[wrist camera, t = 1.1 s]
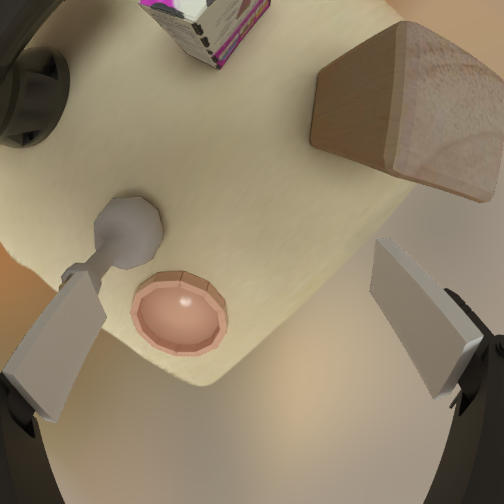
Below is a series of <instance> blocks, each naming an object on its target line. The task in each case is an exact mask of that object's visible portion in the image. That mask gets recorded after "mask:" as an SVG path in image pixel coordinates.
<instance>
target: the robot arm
mask: <svg viewBox="0 0 504 504" xmlns="http://www.w3.org/2000/svg"><path fill="white" fill-rule="evenodd" d="M63 1H65V0H0V145H4V146H8V147H12V148H24V147H28V146H32V145H35V144H37V143H39V142H40V141H42V140H43V139H44V138H46V137H47V136H48V135H49V133H50V132H51V131H52V130H53V128H54V127H55V125H56V124H57V122H58V120H59V119H60V116H61V114H62V112H63V110H64V107H65V104H66V100H67V96H68V91H69V70H68V66H67V63H66V60H65V59H64V57H63V56H62V55H61V54H60V53H59V52H58V51H56V50H53V49H50V48H46V47H34V48H30V49H26V50H23V49H24V48H25V46H26V45H27V44H28V42H29V41H30V39H31V38H32V37H33V36H34V34H35V33H36V32H37V30H38V29H39V28H40V27H41V25H42V24H43V23H44V22H45V21H46V19H47V18H48V17H49V16H50V15H51V14H52V13H53V11H54V10H55V9H56V8H57V7H58V6H59V5H60V4H61V3H62V2H63ZM22 50H23V51H22ZM370 293H371V295H372V296H373V298H374V299H375V301H376V302H377V304H378V305H379V307H380V309H381V310H382V312H383V313H384V315H385V316H386V318H387V320H388V321H389V323H390V324H391V326H392V328H393V329H394V331H395V332H396V334H397V336H398V338H399V339H400V341H401V342H402V344H403V346H404V348H405V349H406V351H407V353H408V354H409V356H410V358H411V360H412V361H413V363H414V365H415V367H416V369H417V370H418V372H419V374H420V376H421V378H422V379H423V381H424V383H425V385H426V387H427V389H428V391H429V393H430V394H431V396H432V398H433V400H434V401H435V400H437V399H439V398H442V397H444V396H446V395H448V394H450V393H451V392H452V390H453V389H454V388H455V386H456V384H457V383H458V384H459V386H460V387H461V390H460V392H459V393H458V395H457V396H456V397H455V399H454V400H453V402H452V403H451V405H450V408H451V409H452V407H453V406H454V405H455V404H456V408H455V412H454V416H453V421H452V425H451V428H450V432H449V436H448V439H447V442H446V446H445V449H444V452H443V455H442V458H441V461H440V464H439V467H438V469H437V472H436V475H435V477H434V480H433V482H432V485H431V487H430V490H429V492H428V494H427V497H426V499H425V501H424V503H423V504H504V335H496V336H494V335H493V334H492V333H491V331H490V330H489V329H488V328H487V327H486V325H485V324H484V323H483V322H482V321H481V320H480V318H479V317H478V316H477V315H476V314H475V313H474V312H473V311H471V308H470V307H469V306H468V305H466V304H465V302H464V301H463V300H462V299H461V298H460V296H459V295H458V294H456V293H454V292H453V291H451V290H449V289H447V288H445V289H443V288H442V287H441V286H440V285H439V284H438V283H437V282H436V281H435V280H434V279H433V278H432V277H431V276H430V275H429V274H428V273H427V272H426V271H425V270H424V269H423V268H422V267H421V266H420V265H419V264H418V263H417V262H416V261H415V260H414V259H413V258H412V257H411V256H410V255H409V254H408V253H407V252H406V251H405V250H403V249H402V248H401V247H400V246H399V245H398V244H397V243H396V242H395V241H394V240H393V239H392V238H381V239H376V241H375V252H374V261H373V269H372V277H371V284H370ZM106 318H107V316H106V314H105V312H104V310H103V307H102V305H101V303H100V300H99V298H98V296H97V293H96V291H95V289H94V286H93V284H92V281H91V279H90V276H89V274H88V271H80V272H75V273H74V274H73V276H72V277H71V278H70V279H69V280H68V281H67V283H66V284H65V285H64V286H63V287H62V289H61V290H60V291H59V292H58V293H57V295H56V296H55V297H54V298H53V300H52V301H51V302H50V303H49V305H48V306H47V307H46V309H45V310H44V311H43V312H42V314H41V315H40V317H39V318H38V319H37V321H36V322H35V323H34V325H33V326H32V327H31V329H30V330H29V332H28V333H27V334H26V335H25V337H24V338H23V339H22V341H21V342H20V344H19V345H18V347H17V348H16V350H15V352H14V353H13V354H12V356H11V357H10V359H9V361H8V362H7V364H6V365H5V367H4V368H3V370H2V372H1V373H0V504H65V502H64V500H63V498H62V496H61V493H60V491H59V488H58V486H57V483H56V481H55V478H54V475H53V473H52V470H51V467H50V464H49V461H48V458H47V454H46V451H45V448H44V444H43V441H42V437H41V433H40V429H39V425H38V422H37V419H36V418H35V417H34V416H33V414H34V412H35V411H36V412H37V413H38V414H39V415H40V416H41V417H42V418H43V419H44V420H47V421H50V422H53V423H57V422H58V419H59V417H60V415H61V412H62V409H63V407H64V405H65V403H66V400H67V398H68V395H69V393H70V391H71V388H72V386H73V384H74V382H75V380H76V378H77V375H78V373H79V371H80V369H81V367H82V365H83V362H84V361H85V359H86V356H87V355H88V352H89V351H90V348H91V347H92V344H93V342H94V341H95V339H96V337H97V335H98V333H99V331H100V329H101V327H102V325H103V324H104V322H105V320H106ZM456 402H457V403H456Z"/></svg>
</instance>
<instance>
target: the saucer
mask: <svg viewBox="0 0 504 504" xmlns="http://www.w3.org/2000/svg"><path fill="white" fill-rule="evenodd" d="M130 314H131V317H132V320H133V322H134V325H135V328H136V330H137V332H138V333H139V334H140V335H141V336H142V337H143V338H144V339H145V340H146V341H147V342H148V343H149V344H150V345H151V346H153V347H155V348H156V349H158V350H161V351H163V352H166V353H169V354H171V355H174V356H200V355H202V354H205V353H207V352H209V351H211V350H213V349H215V348H217V347H218V346H219V344H220V342H221V341H222V339H223V337H224V336H225V334H226V332H227V325H228V318H227V311H226V304H225V300H224V298H223V297H222V296H221V295H220V294H219V293H218V292H217V290H216V289H215V288H214V287H213V286H212V285H211V284H210V282H208V281H206V280H204V279H201V278H199V277H197V276H194V275H192V274H190V273H187V272H185V271H184V273H183V271H175V272H159V273H157V274H155V275H154V276H152V277H151V278H149V279H148V280H147V281H145V282H144V283H142V284H141V285H140V287H139V289H138V290H137V292H136V294H135V297H134V300H133V304H132V308H131V311H130Z"/></svg>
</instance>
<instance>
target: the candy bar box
mask: <svg viewBox="0 0 504 504" xmlns="http://www.w3.org/2000/svg"><path fill="white" fill-rule="evenodd" d="M270 2H271V0H140V1H139V2H138V4H139V5H140V6H141V7H142V8H143V9H144V10H145V11H146V12H147V13H148V14H149V15H150V16H152V17H153V18H154V19H155V20H156V21H157V22H158V23H159V24H160V26H161V27H162V28H163V29H164V30H165V31H167V33H168V34H169V35H170V36H171V37H172V38H173V39H174V40H175V41H176V42H177V43H178V44H179V45H180V47H181V48H182V49H183V50H184V51H185V52H186V53H187V54H189V55H191V56H193V57H195V58H197V59H199V60H201V61H203V62H205V63H207V64H209V65H211V66H213V67H215V68H217V69H219V70H220V69H221V68H222V66H223V65H224V63H225V62H226V61H227V59H228V58H229V56H230V55H231V54H232V52H233V51H234V50H235V48H236V47H237V46H238V44H239V43H240V42H241V40H242V39H243V38H244V36H245V35H246V34H247V33H248V31H249V30H250V29H251V28H252V26H253V25H254V24H255V23H256V22H257V20H258V19H259V18H260V17H261V15H262V14H263V13H264V12H265V11H266V10H267V9H268V7H269V6H270Z"/></svg>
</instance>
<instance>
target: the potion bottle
mask: <svg viewBox="0 0 504 504" xmlns="http://www.w3.org/2000/svg"><path fill="white" fill-rule="evenodd" d="M94 239H95V249H96V250H97V251H96V252H95V253H94V254H93V255H92V256H91V257H90V258H89V259H88V260H87V261H86V262H85V263H75V264H73V265H72V266H70V267H69V268H67V269H66V271H65V272H64V274H63V275H62V276H61V278H62V284H61V285H60V286H59V291H60V290H61V289H62V287H63V286H64V285H65V284H66V283H67V281H68V280H69V279H70V278H71V277H72V276H73V274H74V273H75V272H80V271H88V274H89V276H90V279H91V281H92V284H93V286H94V289H95V291H96V293H97V296H98V294H99V291H100V287H101V284H102V283H101V278H102V277H103V276H104V274H105V273H106V272H107V271H108V269H109V268H110V267H111V266H115V267H118V268H120V269H126V270H128V269H131V268H134V267H136V266H139V265H142V264H145V263H147V262H148V261H150V260H152V259H153V258H154V256H155V254H156V252H157V250H158V247H159V245H160V243H161V241H162V239H163V228H162V224H161V220H160V216H159V212H158V209H157V208H155V207H154V206H153V205H152V204H150V203H149V202H148V201H147V200H145V199H144V198H142V197H125V198H113V199H112V200H111V201H110V202H109V203H108V204H107V206H106V207H105V208H104V209H103V210H102V211H101V213H100V214H99V215H98V217H97V218H96V220H95V222H94Z"/></svg>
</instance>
